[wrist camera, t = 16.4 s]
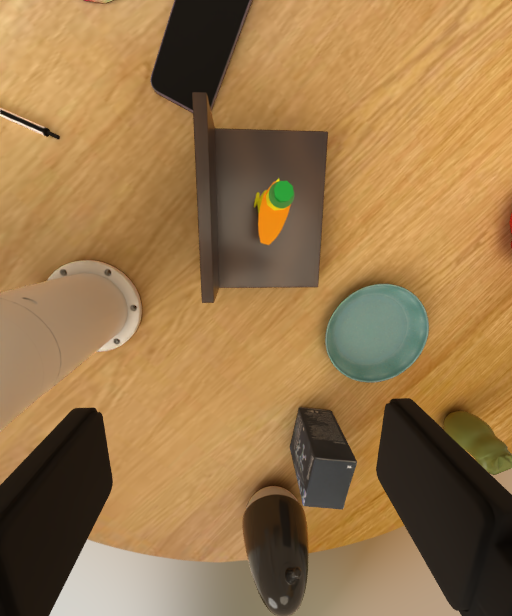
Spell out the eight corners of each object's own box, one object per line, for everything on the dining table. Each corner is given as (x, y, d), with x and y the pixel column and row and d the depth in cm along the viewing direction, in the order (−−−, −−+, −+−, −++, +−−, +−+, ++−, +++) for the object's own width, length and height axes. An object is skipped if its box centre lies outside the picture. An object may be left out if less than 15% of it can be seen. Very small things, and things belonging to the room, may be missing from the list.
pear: (464, 399, 45) (524, 443, 36) (470, 424, 47) (531, 473, 37) (432, 412, 46) (483, 460, 36) (439, 437, 47) (491, 489, 37)
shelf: (212, 283, 38) (201, 302, 28) (207, 137, 34) (192, 91, 23) (312, 283, 39) (339, 301, 28) (320, 140, 34) (357, 97, 24)
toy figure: (272, 245, 34) (289, 251, 23) (244, 237, 34) (247, 239, 22) (287, 189, 33) (314, 164, 21) (258, 180, 32) (269, 150, 21)
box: (297, 406, 44) (315, 457, 34) (331, 409, 44) (359, 461, 34) (288, 447, 46) (302, 508, 36) (321, 450, 46) (344, 511, 36)
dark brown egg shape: (309, 481, 48) (340, 590, 33) (288, 525, 50) (308, 646, 36) (253, 468, 47) (259, 576, 32) (234, 515, 49) (232, 635, 34)
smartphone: (147, 86, 31) (196, -74, 28) (150, 91, 32) (198, -63, 29) (207, 119, 32) (262, -31, 29) (208, 122, 33) (261, -21, 30)
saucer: (312, 294, 39) (317, 298, 37) (413, 269, 39) (425, 272, 37) (328, 383, 43) (334, 393, 41) (420, 361, 43) (432, 369, 41)
